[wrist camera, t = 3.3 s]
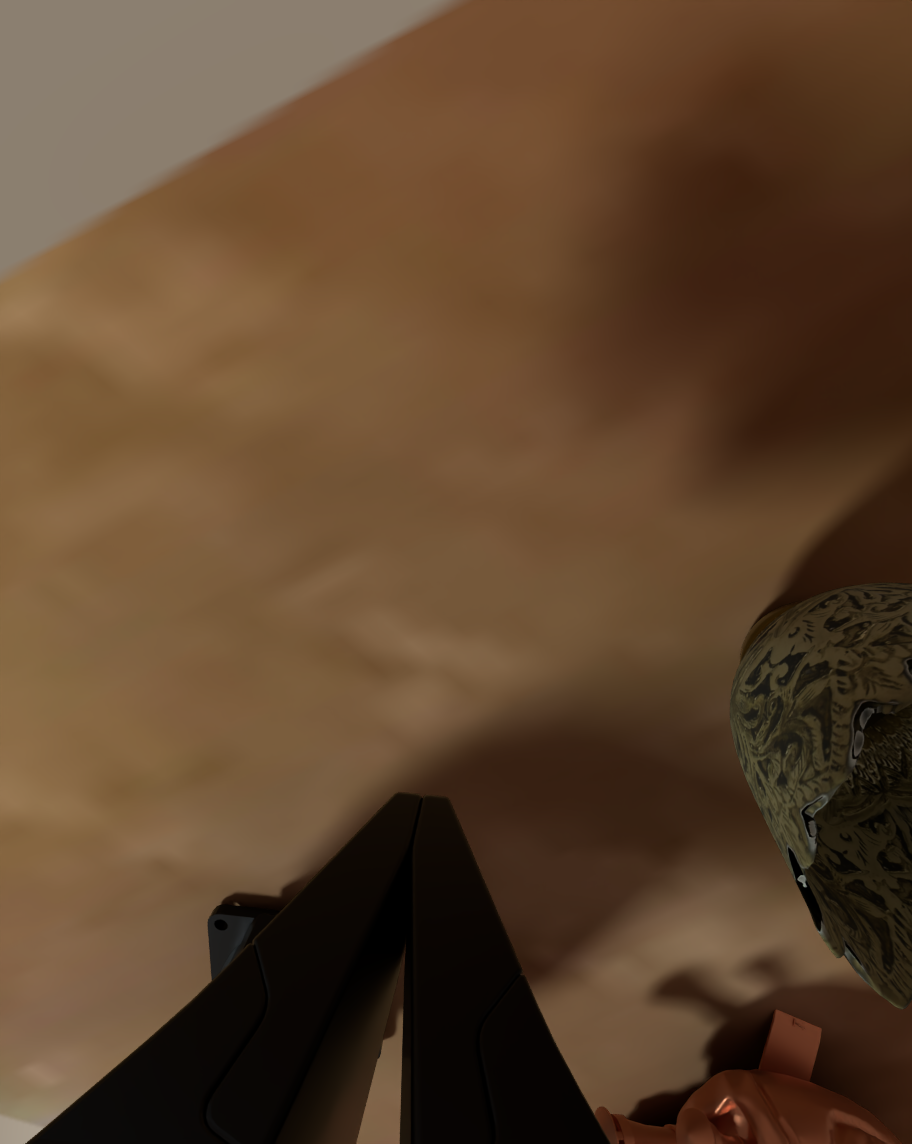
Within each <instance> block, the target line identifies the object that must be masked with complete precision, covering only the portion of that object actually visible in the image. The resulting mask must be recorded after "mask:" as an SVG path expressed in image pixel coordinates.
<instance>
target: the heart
mask: <svg viewBox="0 0 912 1144" xmlns="http://www.w3.org/2000/svg"><path fill="white" fill-rule="evenodd" d="M821 1031H822V1029H821V1028H819V1027H817V1026H814V1025H812V1024H810V1023H807V1022H805V1021H803V1020H800V1019H798V1018H795V1017H793V1016H791V1015H788V1014H786V1013H784V1012H781V1011H779V1010H777V1009H776V1010H775V1011H774V1014H773V1019H772V1023H771V1026H770V1030H769V1033H768V1037H767V1040H766V1044H765V1047H764V1051H763V1054H762V1058H761V1061H760V1065H759V1068H758V1069H752V1070H742V1069H738V1070H725V1071H722V1072H720V1073H718V1074H716V1075H714V1076H713V1077H711V1079H709V1080H708V1081H707V1082H706V1083H705V1084H704V1085H703V1086H702V1087H700V1088H699V1089H698V1090H696V1091H695V1092H694V1093H693V1094H692V1095H691V1096H690V1097H689V1099H688V1100H687V1102H686V1103H685V1104H684V1106H683V1107H682V1108H681V1110H680V1112H679V1114H678V1117H677V1123H676V1125H671V1124H666V1125H665V1126H664V1127H658V1126H650V1125H644V1124H641V1123H637V1122H634V1121H631V1120H628V1119H626V1117H625V1116H624V1115H620V1114H610V1113H609V1111H608V1110H607V1109H606V1108H605V1107H599V1108H597V1110H596V1112H595V1116H596V1118H597V1120H598V1122H599V1123H600V1125H601V1127H602V1129H603V1131H604V1132H605V1134H606V1136H607V1138H608V1139H609V1141H610V1143H611V1144H902V1143H901V1142H900V1141H899V1140H898V1139H897V1138H896V1137H895V1135H894V1134H893V1133H892V1132H891V1131H890V1130H889V1129H888V1128H887V1127H886V1126H885V1125H884V1124H883V1123H882V1122H880V1121H879V1120H878V1119H877V1118H876V1117H875V1116H874V1115H873V1114H872V1113H871V1112H869V1111H868V1110H866V1109H864V1108H863V1107H861V1106H860V1105H858V1104H856V1103H855V1102H853V1101H852V1100H850V1099H848V1098H847V1097H844V1096H842V1095H840V1094H837V1093H835V1092H833V1091H830V1090H828V1089H826V1088H823V1087H821V1086H819V1085H816V1084H814V1083H811V1082H809V1081H810V1078H811V1074H812V1070H813V1066H814V1063H815V1059H816V1055H817V1051H818V1048H819V1044H820V1039H821Z"/></svg>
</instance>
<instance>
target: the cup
mask: <svg viewBox="0 0 912 1144" xmlns="http://www.w3.org/2000/svg"><path fill="white" fill-rule="evenodd" d="M730 725H731V730H732V735H733V740H734V745H735V749H736V752H737V755H738V758H739V761H740V764H741V766H742V769H743V772H744V775H745V777H746V780H747V782H748V784H749V787H750V789H751V791H752V794H753V796H754V798H755V800H756V802H757V804H758V806H759V808H760V810H761V812H762V815H763V817H764V819H765V821H766V823H767V825H768V827H769V829H770V831H771V833H772V835H773V837H774V839H775V841H776V843H777V845H778V847H779V849H780V851H781V853H782V855H783V857H784V859H785V861H786V863H787V865H788V867H789V869H790V871H791V873H792V875H793V877H794V879H795V881H796V883H797V885H798V888H799V890H800V892H801V894H802V896H803V898H804V900H805V902H806V904H807V906H808V908H809V911H810V913H811V916H812V919H813V921H814V924H815V927H816V929H817V931H818V932H819V934H820V936H821V937H822V939H823V940H824V942H825V943H826V945H827V946H828V947H829V949H830V950H831V952H832V953H833V954H834V955H835V956H836V957H837V958H841V957H842V956H843V955H844V956H845V957H846V959H847V960H848V961H849V963H850V964H851V965H852V967H853V968H854V970H855V971H856V972H857V973H858V974H859V976H860V977H861V978H862V979H863V980H864V981H865V982H866V983H867V984H868V985H869V986H870V987H871V988H873V989H874V990H875V991H876V992H877V993H878V994H879V995H881V996H882V997H883V998H885V999H886V1000H887V1001H889V1002H890V1003H891V1004H892V1005H894V1006H895V1007H897V1008H900V1009H905V1008H906V1007H907V1006H908V1005H909V1003H910V1002H911V1000H912V584H906V583H869V584H862V585H855V586H849V587H843V588H839V589H835V590H831V591H827V592H825V593H822V594H819V595H816V596H814V597H811V598H809V599H807V600H805V601H800V602H794V603H790V604H787V605H784V606H781V607H779V608H777V609H775V610H773V611H771V612H769V613H768V614H767V615H765V616H764V617H762V618H761V619H760V620H759V621H758V622H757V623H756V624H755V625H754V626H753V628H752V629H751V630H750V631H749V633H748V635H747V636H746V638H745V641H744V643H743V646H742V649H741V654H740V665H739V667H738V669H737V672H736V675H735V678H734V681H733V686H732V691H731V700H730Z"/></svg>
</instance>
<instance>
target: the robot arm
mask: <svg viewBox="0 0 912 1144" xmlns="http://www.w3.org/2000/svg"><path fill="white" fill-rule="evenodd" d="M208 936H209V949H210V962H211V976H212V981H211V982H210V983H209V984H208V985H207V986H206V987H205V988H204V989H203V990H202V991H201V992H200V993H199V994H198V995H197V996H196V997H195V998H194V999H193V1000H192V1001H190V1002H189V1003H188V1004H187V1005H186V1006H185V1007H184V1008H183V1009H181V1010H180V1011H179V1012H178V1013H177V1014H176V1015H175V1016H174V1017H172V1018H171V1019H170V1020H169V1021H168V1022H167V1023H166V1024H165V1025H163V1026H162V1027H161V1028H160V1029H159V1030H158V1031H157V1032H156V1033H154V1034H153V1035H152V1036H151V1037H150V1038H149V1039H148V1040H147V1041H145V1042H144V1043H143V1044H142V1045H141V1046H139V1047H138V1048H137V1049H136V1050H135V1051H134V1052H132V1053H131V1054H130V1055H129V1056H128V1057H127V1058H125V1059H124V1060H123V1061H122V1062H121V1063H120V1064H118V1065H117V1066H116V1067H115V1068H114V1069H113V1070H111V1071H110V1072H109V1073H108V1074H107V1075H106V1076H104V1077H103V1078H102V1079H101V1080H100V1081H99V1082H97V1083H96V1084H95V1085H94V1086H93V1087H91V1088H90V1089H89V1090H88V1091H87V1092H86V1093H84V1094H83V1095H82V1096H81V1097H80V1098H79V1099H77V1100H76V1101H75V1102H74V1103H73V1104H72V1105H70V1106H69V1107H68V1108H67V1109H66V1110H65V1111H63V1112H62V1113H61V1114H60V1115H59V1116H58V1117H56V1118H55V1119H54V1120H53V1121H52V1122H51V1123H49V1124H48V1125H47V1126H46V1127H45V1128H43V1129H42V1130H41V1131H40V1132H39V1133H38V1134H37V1135H35V1136H34V1137H33V1138H32V1139H30V1140H29V1141H28V1142H27V1143H25V1144H356V1141H357V1138H358V1134H359V1130H360V1126H361V1122H362V1118H363V1114H364V1110H365V1106H366V1102H367V1098H368V1094H369V1090H370V1087H371V1083H372V1079H373V1075H374V1071H375V1067H376V1063H377V1059H378V1058H379V1057H380V1054H381V1049H382V1043H383V1035H384V1032H385V1028H386V1024H387V1020H388V1016H389V1012H390V1008H391V1004H392V1000H393V996H394V992H395V988H396V984H397V981H398V977H399V973H400V969H401V964H402V960H403V955H404V950H405V944H406V953H405V971H404V1007H403V1044H402V1081H401V1117H400V1144H611V1143H610V1141H609V1139H608V1138H607V1136H606V1134H605V1132H604V1131H603V1129H602V1127H601V1125H600V1123H599V1122H598V1120H597V1118H596V1116H595V1115H594V1113H593V1111H592V1109H591V1108H590V1106H589V1104H588V1102H587V1101H586V1099H585V1097H584V1095H583V1094H582V1092H581V1090H580V1088H579V1086H578V1084H577V1082H576V1081H575V1079H574V1077H573V1075H572V1073H571V1071H570V1069H569V1067H568V1066H567V1064H566V1062H565V1060H564V1058H563V1056H562V1054H561V1053H560V1051H559V1049H558V1047H557V1045H556V1043H555V1041H554V1039H553V1037H552V1034H551V1032H550V1030H549V1028H548V1026H547V1024H546V1022H545V1019H544V1017H543V1015H542V1013H541V1011H540V1009H539V1006H538V1004H537V1002H536V1000H535V997H534V995H533V993H532V990H531V988H530V986H529V983H528V981H527V979H526V977H525V976H524V975H523V970H522V968H521V965H520V963H519V961H518V958H517V956H516V954H515V951H514V949H513V947H512V944H511V942H510V940H509V937H508V935H507V933H506V930H505V928H504V926H503V923H502V921H501V919H500V916H499V914H498V912H497V909H496V907H495V905H494V902H493V900H492V898H491V895H490V893H489V891H488V888H487V886H486V883H485V881H484V879H483V876H482V874H481V872H480V869H479V867H478V865H477V862H476V860H475V858H474V855H473V853H472V851H471V848H470V846H469V844H468V841H467V839H466V837H465V834H464V832H463V830H462V827H461V825H460V823H459V820H458V818H457V816H456V813H455V811H454V809H453V806H452V804H451V802H450V800H449V798H447V797H444V796H434V795H425V796H424V797H423V798H422V797H421V795H420V794H414V793H404V792H398V793H396V794H394V795H393V796H392V798H391V799H390V800H389V801H388V802H387V803H386V804H385V805H384V806H383V807H382V808H381V809H380V810H379V811H378V812H377V813H376V814H375V815H374V816H373V817H372V818H371V819H370V820H369V821H368V822H367V823H366V824H365V825H364V826H363V827H362V828H361V829H360V830H359V831H358V832H357V833H356V834H355V836H354V837H353V838H352V839H351V840H350V841H349V842H348V843H347V844H346V845H345V846H344V847H343V848H342V849H341V850H340V851H339V852H338V853H337V854H336V855H335V856H334V857H333V858H332V859H331V860H330V861H329V862H328V863H327V864H326V865H325V866H324V867H323V868H322V869H321V870H320V871H319V872H318V874H317V875H316V876H315V877H314V878H313V879H312V880H311V881H310V882H309V883H308V884H307V885H306V886H305V887H304V888H303V889H302V890H301V891H300V892H299V893H298V894H297V895H296V896H295V897H294V898H293V899H292V900H291V901H290V902H289V903H288V904H287V905H286V906H285V907H284V908H283V909H282V910H281V911H277V910H268V909H259V908H251V907H242V906H233V905H219V906H217V907H216V908H215V909H214V910H213V912H212V914H211V916H210V917H209V919H208Z"/></svg>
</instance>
